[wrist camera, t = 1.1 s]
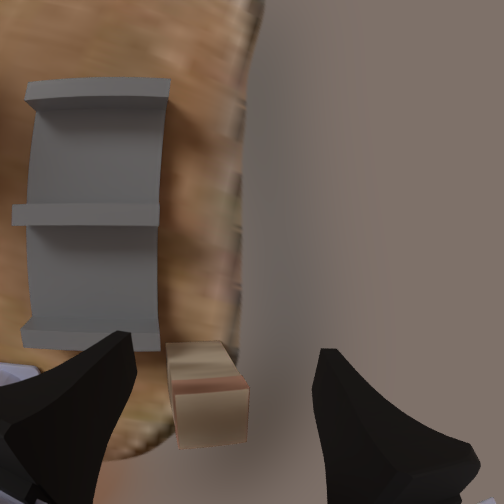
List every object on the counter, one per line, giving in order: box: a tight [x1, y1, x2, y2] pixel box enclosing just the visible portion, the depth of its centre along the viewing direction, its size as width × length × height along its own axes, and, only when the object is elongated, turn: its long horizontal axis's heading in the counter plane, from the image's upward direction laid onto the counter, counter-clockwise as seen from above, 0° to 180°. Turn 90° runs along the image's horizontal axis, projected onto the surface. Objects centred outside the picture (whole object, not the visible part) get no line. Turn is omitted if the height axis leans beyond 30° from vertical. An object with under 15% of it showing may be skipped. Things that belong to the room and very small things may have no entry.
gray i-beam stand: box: [12, 77, 171, 351], centre depth 17 cm, size 16×9×4 cm, turn 177°
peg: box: [166, 341, 250, 450], centre depth 19 cm, size 4×4×7 cm
